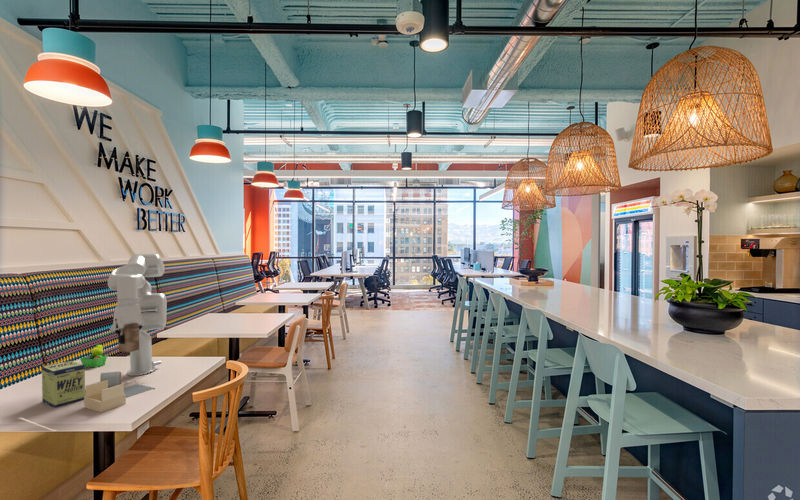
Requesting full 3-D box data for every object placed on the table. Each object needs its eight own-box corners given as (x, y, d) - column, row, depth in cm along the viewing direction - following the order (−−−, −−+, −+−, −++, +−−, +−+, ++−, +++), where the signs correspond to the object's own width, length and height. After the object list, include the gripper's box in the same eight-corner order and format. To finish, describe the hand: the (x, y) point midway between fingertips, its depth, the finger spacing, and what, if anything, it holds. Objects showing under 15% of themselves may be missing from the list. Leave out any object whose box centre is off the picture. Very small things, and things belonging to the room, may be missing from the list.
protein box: (55, 409, 160) (54, 371, 160) (41, 401, 168) (40, 365, 168) (86, 400, 169) (85, 364, 169) (71, 393, 177) (71, 359, 177)
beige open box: (109, 400, 168) (108, 379, 168) (125, 404, 163) (125, 383, 163) (84, 408, 160) (83, 386, 160) (100, 413, 154) (100, 390, 154)
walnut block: (130, 348, 181) (129, 322, 181) (139, 349, 178) (138, 323, 178) (118, 350, 177) (117, 324, 177) (127, 352, 174) (126, 325, 173)
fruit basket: (78, 367, 218) (78, 347, 218) (93, 362, 227) (93, 343, 227) (96, 368, 216) (95, 347, 216) (110, 363, 225) (110, 344, 225)
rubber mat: (137, 385, 187) (136, 383, 187) (154, 389, 181) (154, 388, 181) (104, 395, 174) (104, 393, 174) (122, 400, 168) (122, 398, 168)
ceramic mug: (121, 388, 183) (121, 371, 183) (100, 392, 178) (99, 375, 178) (121, 382, 192) (121, 367, 192) (100, 386, 187) (100, 370, 187)
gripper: (142, 299, 186) (143, 337, 187) (102, 304, 171) (103, 345, 171) (151, 300, 183) (152, 338, 183) (111, 305, 168) (112, 347, 168)
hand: (128, 341), depth 177 cm, fingers closed on walnut block, 5 cm apart
